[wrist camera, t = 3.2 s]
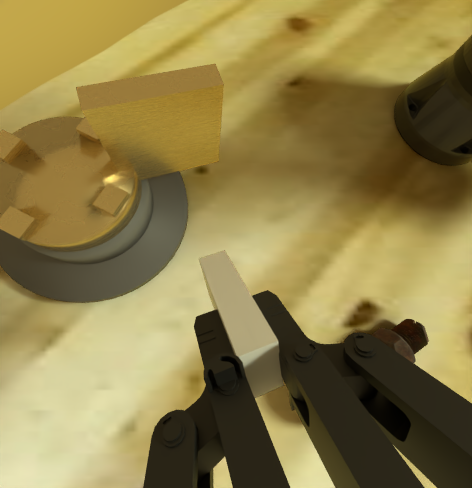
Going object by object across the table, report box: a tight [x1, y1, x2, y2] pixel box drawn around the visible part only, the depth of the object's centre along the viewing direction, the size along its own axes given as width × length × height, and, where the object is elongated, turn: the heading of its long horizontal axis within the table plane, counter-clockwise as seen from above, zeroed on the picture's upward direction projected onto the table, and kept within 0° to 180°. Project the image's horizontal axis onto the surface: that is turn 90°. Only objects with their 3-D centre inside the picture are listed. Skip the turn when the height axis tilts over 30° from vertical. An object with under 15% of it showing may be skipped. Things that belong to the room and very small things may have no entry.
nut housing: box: [0, 171, 188, 303], centre depth 30 cm, size 22×22×5 cm
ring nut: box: [0, 64, 224, 252], centre depth 23 cm, size 22×13×11 cm, turn 109°
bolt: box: [372, 319, 428, 363], centre depth 29 cm, size 6×5×15 cm
